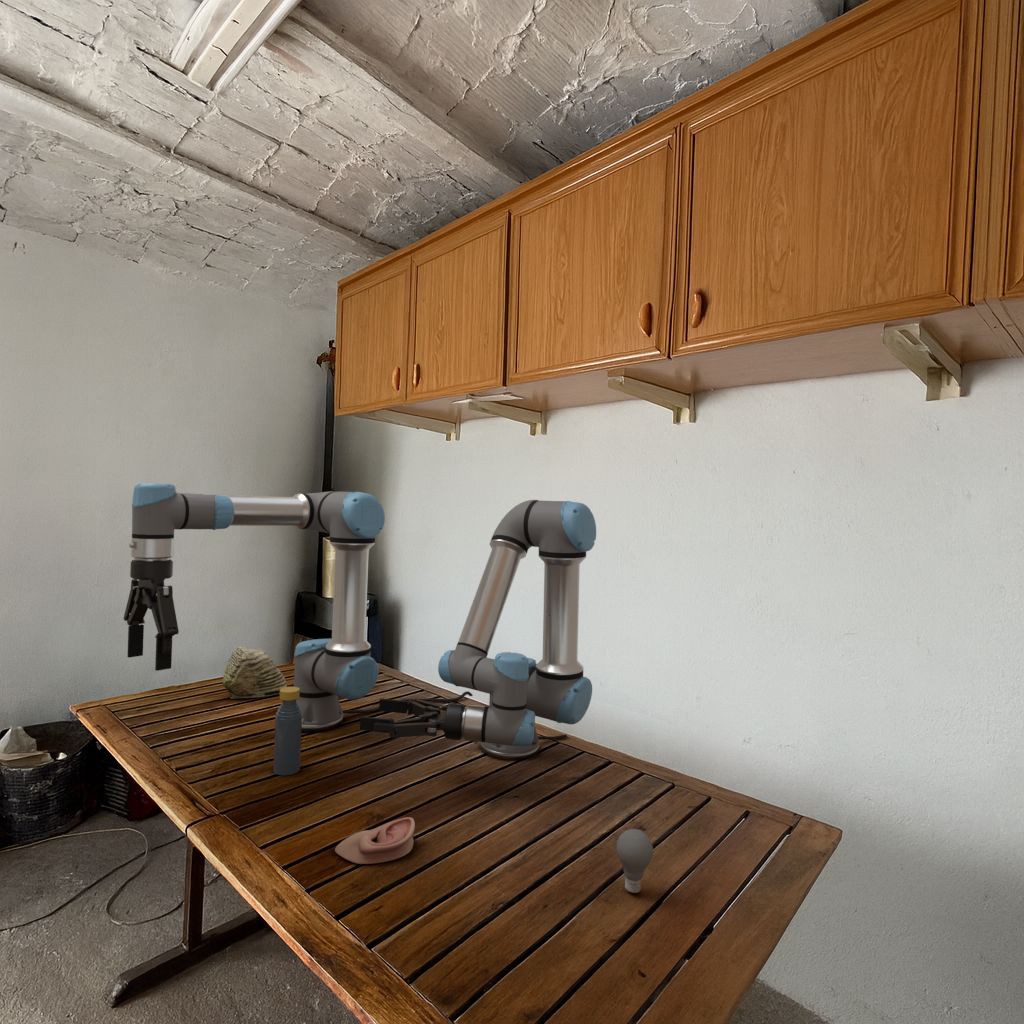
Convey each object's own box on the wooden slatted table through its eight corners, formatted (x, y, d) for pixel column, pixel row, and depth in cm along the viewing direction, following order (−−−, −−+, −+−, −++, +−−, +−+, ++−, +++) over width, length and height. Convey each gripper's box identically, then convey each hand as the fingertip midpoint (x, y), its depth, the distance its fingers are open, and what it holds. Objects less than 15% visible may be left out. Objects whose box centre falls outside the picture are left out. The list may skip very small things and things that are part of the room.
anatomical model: (327, 836, 111) (356, 806, 122) (326, 858, 111) (355, 826, 122) (398, 848, 108) (421, 815, 119) (397, 871, 108) (420, 836, 119)
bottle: (267, 770, 145) (270, 691, 145) (289, 762, 150) (292, 685, 150) (284, 777, 142) (287, 696, 142) (305, 769, 147) (308, 690, 146)
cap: (275, 697, 145) (275, 689, 145) (291, 693, 149) (291, 685, 149) (287, 701, 143) (288, 693, 143) (303, 697, 146) (303, 689, 146)
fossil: (218, 695, 195) (220, 647, 195) (278, 685, 208) (279, 640, 207) (228, 703, 189) (230, 653, 188) (289, 692, 201) (290, 645, 201)
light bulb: (610, 879, 108) (613, 822, 108) (644, 879, 109) (647, 822, 109) (619, 902, 102) (622, 840, 102) (655, 901, 103) (658, 840, 103)
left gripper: (108, 554, 134) (104, 654, 134) (159, 565, 118) (155, 678, 119) (146, 552, 140) (143, 648, 140) (199, 563, 124) (195, 671, 124)
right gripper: (452, 760, 127) (349, 750, 129) (472, 721, 152) (385, 713, 154) (455, 723, 127) (352, 713, 129) (474, 690, 152) (387, 682, 154)
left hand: (148, 662), depth 129 cm, fingers open, 13 cm apart
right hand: (370, 713), depth 141 cm, fingers open, 13 cm apart
